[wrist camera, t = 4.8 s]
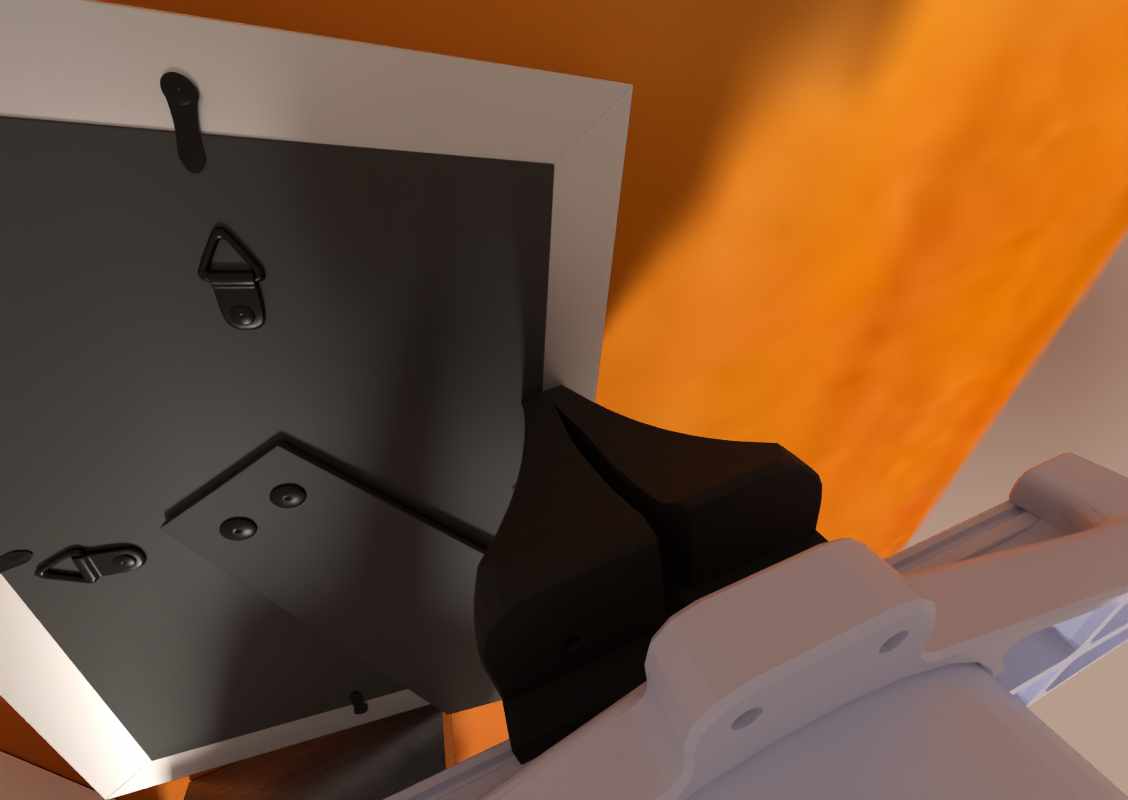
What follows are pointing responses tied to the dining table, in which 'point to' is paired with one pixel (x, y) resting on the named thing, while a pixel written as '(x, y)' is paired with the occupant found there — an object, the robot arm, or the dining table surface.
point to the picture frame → (271, 369)
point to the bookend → (341, 763)
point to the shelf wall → (37, 783)
